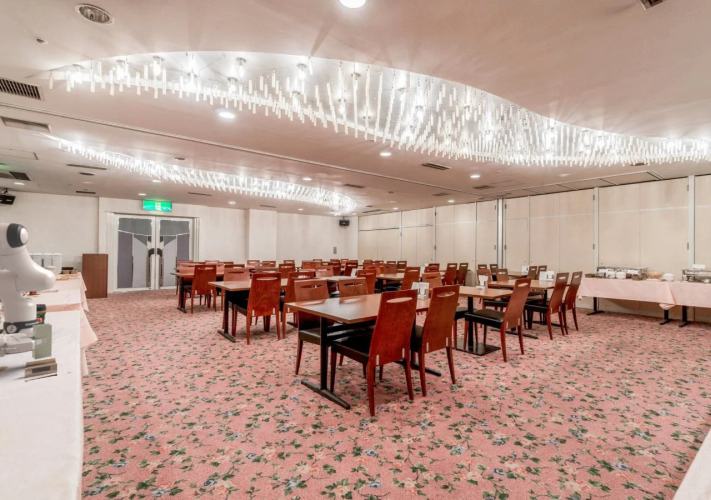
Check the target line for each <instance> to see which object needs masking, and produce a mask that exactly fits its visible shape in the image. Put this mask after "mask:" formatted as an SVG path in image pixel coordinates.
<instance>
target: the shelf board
mask: <svg viewBox="0 0 711 500" xmlns="http://www.w3.org/2000/svg"><path fill="white" fill-rule="evenodd" d="M25 363H26V364H25V368H24V379H26V380H25V382H28V381H34V380H39V379H44V378H52V377H54V376H55V377H56V376H58V362H56V357H54V358H47V359H42V360H41V359H38V360H34V361H28V362H25ZM49 374H50V375H49ZM44 375H46V376H44ZM38 376H40V377H38ZM33 377H34V378H33ZM35 377H36V378H35ZM28 378H31V379H28ZM27 379H28V380H27Z"/></svg>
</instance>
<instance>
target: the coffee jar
mask: <svg viewBox="0 0 711 500" xmlns="http://www.w3.org/2000/svg"><path fill="white" fill-rule="evenodd" d="M47 312H48V311H47V305H46V304H45V303H37V304H36V318H42V322H39V325H40V324H46V313H47Z"/></svg>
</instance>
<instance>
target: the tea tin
mask: <svg viewBox="0 0 711 500" xmlns="http://www.w3.org/2000/svg"><path fill="white" fill-rule="evenodd" d="M52 326H53V325H52V324H50V323H49V322H48V323H45V324H40V325H33V339H32V340H37V339H41V338H47V342H46V343H42V344H39V345H35V349H34V350H31V351H32V353H31V354H32V359H34V360H41V359H45V358H49V357H50V358H51V357H52V349H53V348H52V347H53V346H52V345H53V343H52V340H53V335H52V334H53V329H52V328H53V327H52Z"/></svg>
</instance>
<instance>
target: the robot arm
mask: <svg viewBox="0 0 711 500" xmlns="http://www.w3.org/2000/svg"><path fill="white" fill-rule="evenodd" d="M28 240H29V232H28V229H27V228H26V227H25V226H24V225H23V224H19V223H12V222H10V223H7V222H0V268H2V269H0V301H1V303H2V305H3V311H4V312H3V313H4V321H3V322H2V330H3V331H2V332H1V333H0V358H3V357H5V354H17V353H24V352H25V353H26V352H30V351H32V350H34V349H35V345H39V344H42V343H46V342H47V338H41V339H37V340H32V339H33V325H39V322H42V318H36V302H35V301H33V300H32V299H29V298H27V297H25V296H24V295H23V294H22V293H25V292H27V293H28V292H40V291H46V290H50V289H51V288H53V287H54V286H55V284H56V281H57V278H56V274H55V273H54V272H53V271H52V270H50V269H47V268H45V267H43V266H41V265H39V264H38V263H37V262H35V260H33V258H32V257H31V256H30V253H29V251H28V247H27V245H26V244H28ZM54 342H55V339H52V344H53V343H54Z"/></svg>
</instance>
